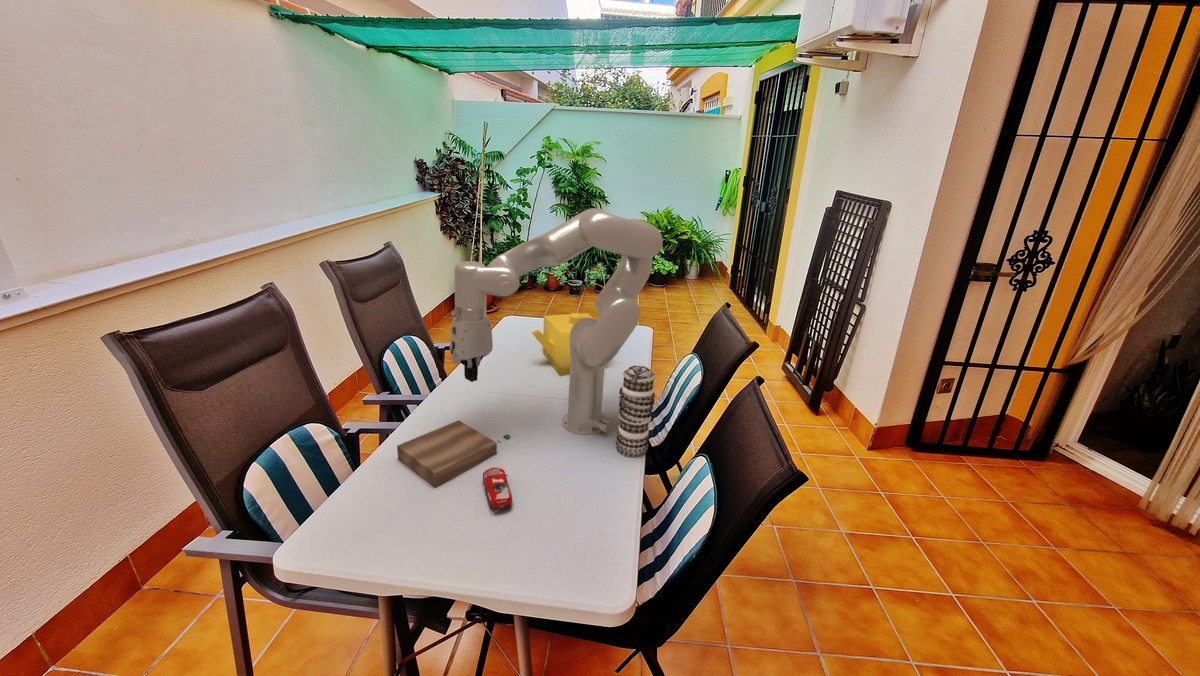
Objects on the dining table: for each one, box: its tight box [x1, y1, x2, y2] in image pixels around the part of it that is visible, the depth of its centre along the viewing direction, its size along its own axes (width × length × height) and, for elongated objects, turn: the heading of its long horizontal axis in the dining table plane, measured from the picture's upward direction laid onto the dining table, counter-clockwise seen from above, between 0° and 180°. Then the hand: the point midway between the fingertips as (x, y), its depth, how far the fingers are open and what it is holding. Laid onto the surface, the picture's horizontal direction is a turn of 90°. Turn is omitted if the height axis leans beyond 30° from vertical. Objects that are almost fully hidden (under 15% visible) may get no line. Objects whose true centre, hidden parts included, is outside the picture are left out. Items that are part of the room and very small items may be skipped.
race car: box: [482, 467, 513, 511], centre depth 112 cm, size 13×5×4 cm, turn 20°
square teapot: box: [531, 312, 607, 377], centre depth 176 cm, size 35×30×21 cm
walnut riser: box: [396, 419, 498, 489], centre depth 124 cm, size 16×18×4 cm
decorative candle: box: [615, 365, 656, 459], centre depth 126 cm, size 9×9×25 cm
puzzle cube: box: [497, 433, 511, 444], centre depth 132 cm, size 4×3×2 cm, turn 143°
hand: (471, 379), depth 128 cm, fingers closed
